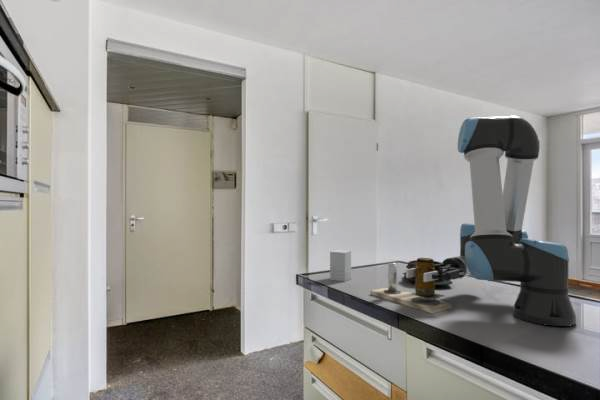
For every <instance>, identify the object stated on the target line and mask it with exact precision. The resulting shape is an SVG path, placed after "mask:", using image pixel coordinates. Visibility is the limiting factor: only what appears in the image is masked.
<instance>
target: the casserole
mask: <svg viewBox="0 0 600 400" xmlns="http://www.w3.org/2000/svg"><path fill="white" fill-rule="evenodd" d="M433 263H434V264H440V263H442V262H440V261H436V260H434V262H433ZM413 266H417V259H415V260H409V261H408V263H407V265H405V267H406V269H412V268H413ZM402 274H403V275H404V276H403V278H404V279H406V280H408V281H411V282H413V283H415V280H416V278H415V277H411V278H406V271H405V272H403V273H402ZM448 285H453V281H452V280H448V281H446V280H445V279H442V280H440V279H438V280H435V286H448Z"/></svg>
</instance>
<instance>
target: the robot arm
mask: <svg viewBox="0 0 600 400" xmlns="http://www.w3.org/2000/svg"><path fill="white" fill-rule="evenodd" d="M457 151H458V153H460V154H463V157H464V159H465V161H467V162H468V163H469V169H470V171H469V172H470V180H471V181H470V183H471V195H472V197H471V198H472V206H473V208H472V211H473V221H474V222H466V223H465V222H464V223H462V224H461V226H460V228H459V229H460V233H459V243H460V244H459V245H460V246H459V251H460V252H459V256H454V257H448V258H445V259H444V260H443V261H442V262H441V263H440V264H434V268H435V271H432V272H427V273H424V274H423V282H429V281H433V280H438V279H440V280H442V279H445V280H446V281H448V280H450V281H452V280H457V279H460V280H461V279H463V278H466V277H470V276H472V277H473V278H474V279H476V280H479V281H480V280H481V281H488V282H514V283H520V284H519V285H520V286H519V287H520V289H519V292H518V295H517V297H516V299H515V302H514V305H513V316H515V317H516V316H517V317H516V318H518V319H520V318H521V320H523V319H524V320H523V321H525V320H527V321H526V322H528V321H530V322H529V323H532V322H533V323H532V324H536V323H539V324H538V325H541V324H546V325H554V326H570V325H574V324H577V315H576V312H575V310H574V308H573V307H574V306H573V304H572V301H571V299H570V297H569V262H570V259H569V258H570V257H569V249H568V247H567V246H566V245H564V244H562V243H558V242H552V241H548V240H547V241H546V240H540V239H533V238H529V235H528V233H527V231H526V230H525V229H523V226H524V224H523V223H524V219H525V213H526V207H527V202H528V201H527V200H528V195H529V189H530V184H531V178H532V173H533V172H532V171H533V167H534V162H535V161H536V160H538V158H539V154H540V140H539V135H538V134H537V131H536V130H535V128H534V127H533V126H532V124H531V123H530V122H529V121H527V119H525V118H523V117H520V116H517V115H508V116H503V115H502V116H486V117H485V116H482V117H480V116H477V117H471V118H470V117H468V118H466V119H464V120H463V121H462V123H461V127H460V129H459V132H458V137H457ZM503 155H504V157H505V159H507V162H506V168H505V177H504V184H503V185H502V175H501V166H500V159H501V158H502V157H503ZM415 271H416V266H413V268H412V269H407V268H406V269H405V272H406V278H411V277H416V274H415V273H416V272H415ZM406 278H405V279H406ZM546 325H545V326H546ZM554 326H553V327H554ZM574 326H575V325H574Z"/></svg>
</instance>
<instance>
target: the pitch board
mask: <svg viewBox="0 0 600 400" xmlns="http://www.w3.org/2000/svg"><path fill="white" fill-rule="evenodd" d="M411 293H412V292H409V291H407V290H404V289H403V290H402V289H399V288H397V292H395V293H391V292H388V286H387V287H386V286H385V287H380V288H375V289H370V295H372V296H374V297H377V298H382V299H385V300H388V301H390V302H391V301H392V302H394V303H398V304H400V305H403V306H407V307H411V308H413V309H417V310H421V311H422V312H426V313H430V314H436V313H438V312H442V311H445V310H448V309H452V303H450V302H447V301H444V300H439V299H429V298H425V297H419V296H416V295H412V294H411Z"/></svg>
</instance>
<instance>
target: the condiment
mask: <svg viewBox="0 0 600 400" xmlns="http://www.w3.org/2000/svg"><path fill="white" fill-rule="evenodd" d="M416 260H417V266H416V271H415V272H416V273H415V274H416V277H415V278H416V280H415V282H414V285H415V289H414V291H415V292H410V293H411V294H412V295H416V296H419V297H425V298H429V299H437V300H439V299H441V298H443V297H444V295H443V294H439V293H436V290H435V288H436V285H435V280H433V281H429V282H423V274H424V273H427V272H432V271H435V268H434V263H433V262H434V261H435V260H434V259H432V258H429V257H428V258H427V257H418V258H417V259H416Z"/></svg>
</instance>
